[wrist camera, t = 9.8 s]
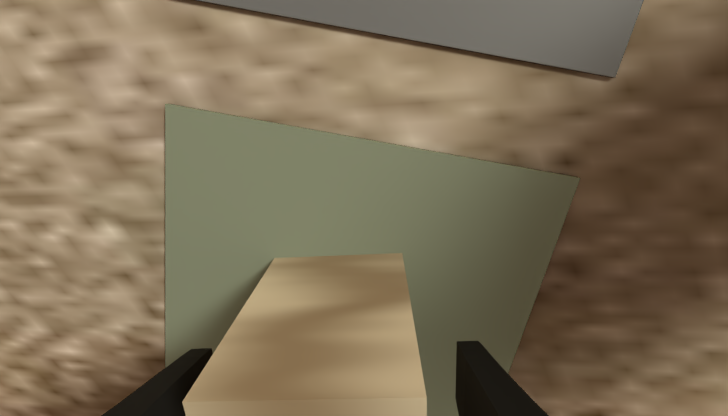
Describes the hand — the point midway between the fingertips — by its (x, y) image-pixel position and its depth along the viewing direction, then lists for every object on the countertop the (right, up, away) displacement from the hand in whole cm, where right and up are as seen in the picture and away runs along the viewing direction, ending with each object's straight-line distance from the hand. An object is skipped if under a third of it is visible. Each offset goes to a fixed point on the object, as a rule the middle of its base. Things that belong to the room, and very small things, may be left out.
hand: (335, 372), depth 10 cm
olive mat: (0, +1, +3) cm, 3 cm away
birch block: (0, +1, +2) cm, 3 cm away
